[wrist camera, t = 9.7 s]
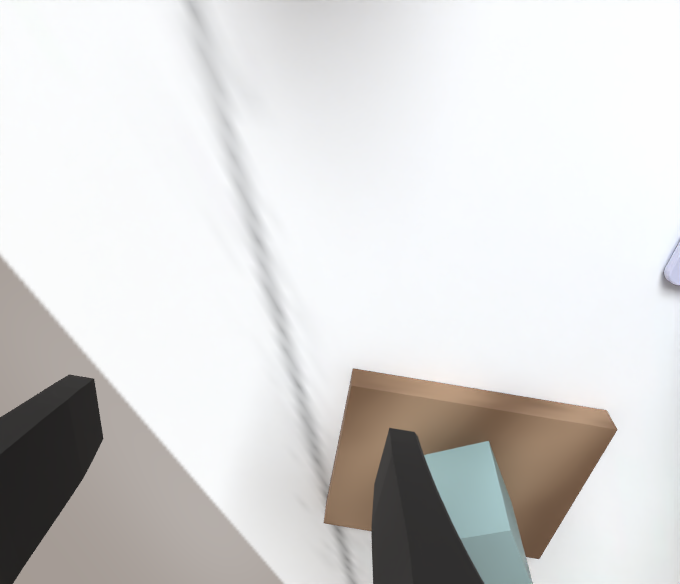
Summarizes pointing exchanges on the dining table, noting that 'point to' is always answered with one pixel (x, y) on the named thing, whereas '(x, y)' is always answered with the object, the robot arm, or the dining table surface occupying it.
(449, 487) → the teal cube
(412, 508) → the robot arm
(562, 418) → the walnut board
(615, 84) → the dining table surface
